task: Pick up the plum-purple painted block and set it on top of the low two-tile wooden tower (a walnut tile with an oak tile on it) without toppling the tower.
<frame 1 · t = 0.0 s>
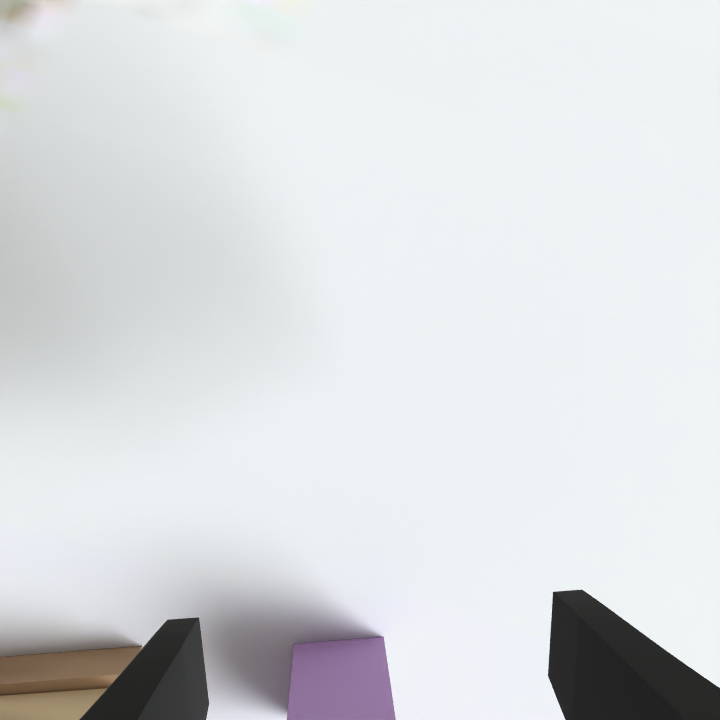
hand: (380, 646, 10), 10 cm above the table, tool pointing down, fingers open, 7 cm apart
walnut tile: (78, 707, 22), on the table, touching oak tile
purple block: (340, 677, 22), on the table
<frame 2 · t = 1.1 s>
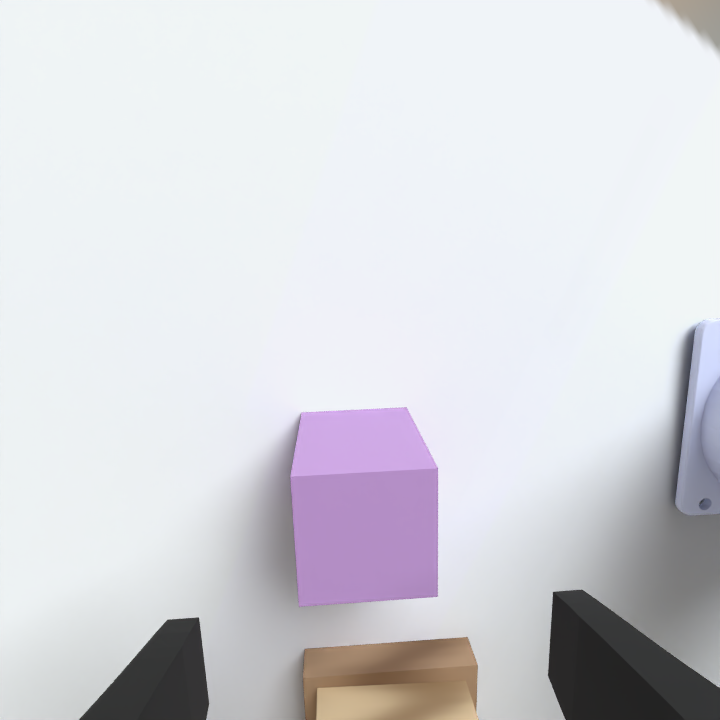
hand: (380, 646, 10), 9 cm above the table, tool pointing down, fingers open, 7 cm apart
walnut tile: (386, 699, 22), on the table
purple block: (356, 458, 19), on the table
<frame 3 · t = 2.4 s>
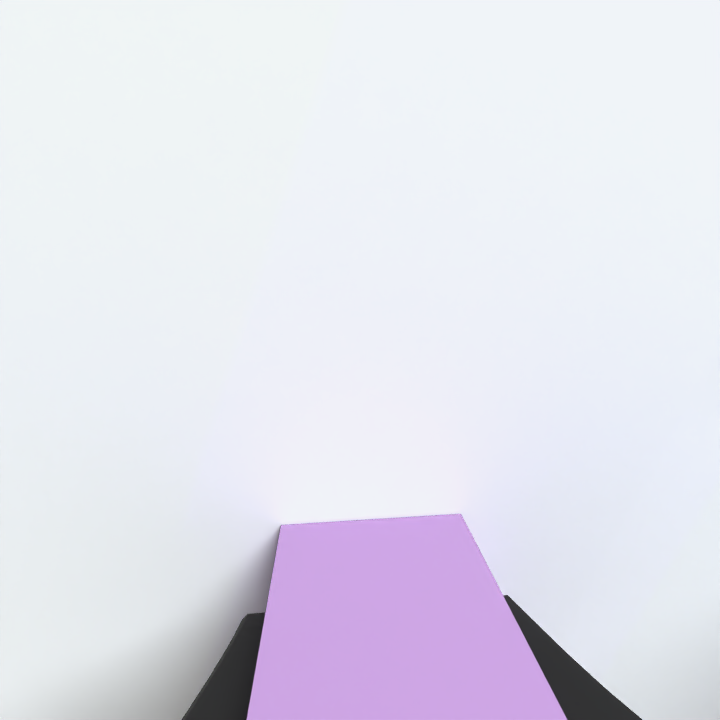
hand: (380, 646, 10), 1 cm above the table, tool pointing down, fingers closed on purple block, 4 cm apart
purple block: (374, 598, 11), on the table, touching gripper
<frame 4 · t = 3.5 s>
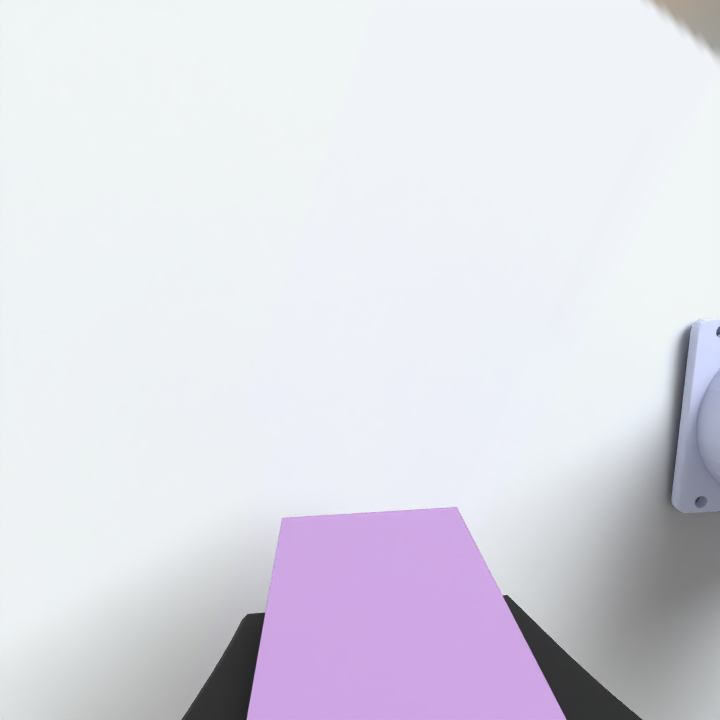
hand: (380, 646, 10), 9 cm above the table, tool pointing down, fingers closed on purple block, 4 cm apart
purple block: (372, 589, 11), point 8 cm above the table, touching gripper
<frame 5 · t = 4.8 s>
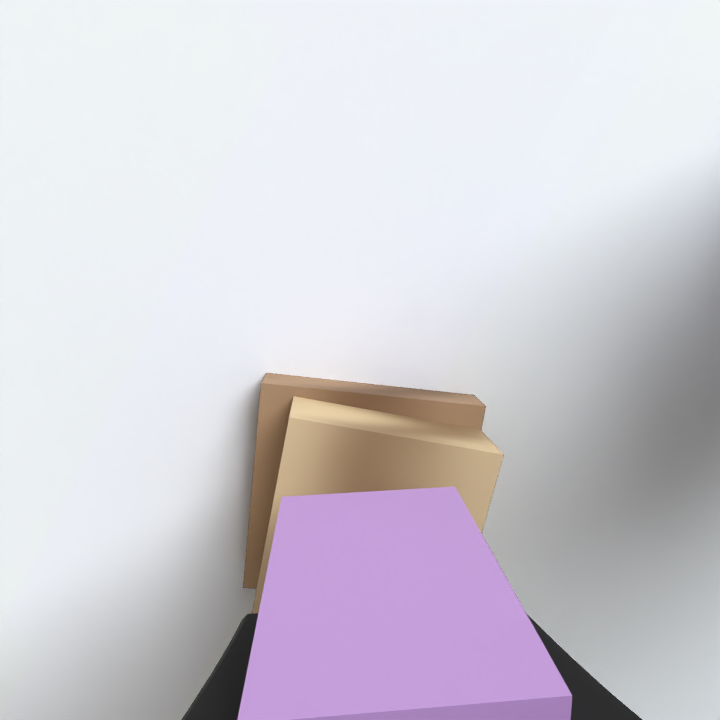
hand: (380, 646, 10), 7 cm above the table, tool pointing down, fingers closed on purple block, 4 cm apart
oak tile: (369, 500, 16), point 1 cm above the table, touching walnut tile
walnut tile: (357, 472, 17), on the table, touching oak tile
purple block: (371, 569, 11), point 5 cm above the table, touching gripper
when the fingers open (6 cm above the table, at t = 5.4 s): purple block drops 1 cm, resting on oak tile.
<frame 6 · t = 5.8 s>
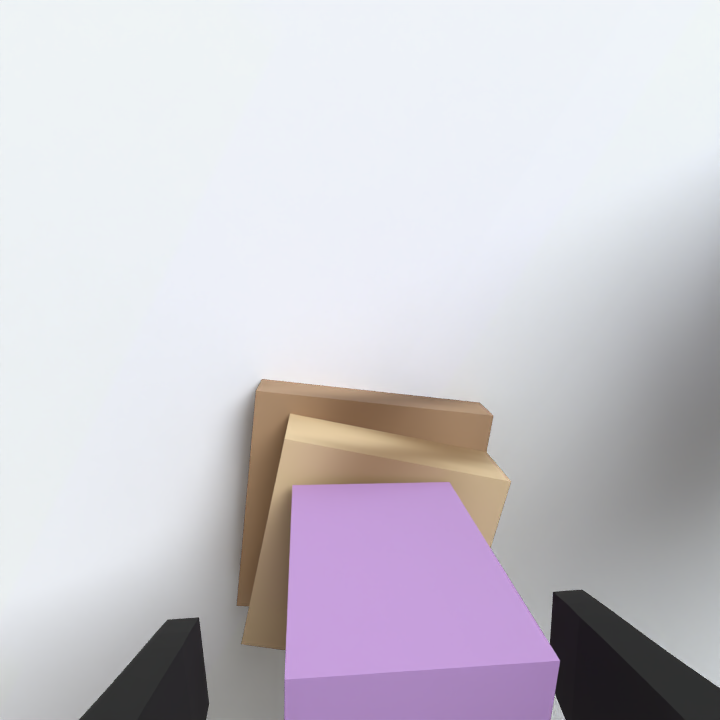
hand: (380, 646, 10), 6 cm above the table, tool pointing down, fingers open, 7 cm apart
oak tile: (367, 523, 15), point 1 cm above the table, touching purple block, walnut tile
walnut tile: (357, 483, 17), on the table, touching oak tile
purple block: (369, 553, 13), point 3 cm above the table, touching oak tile
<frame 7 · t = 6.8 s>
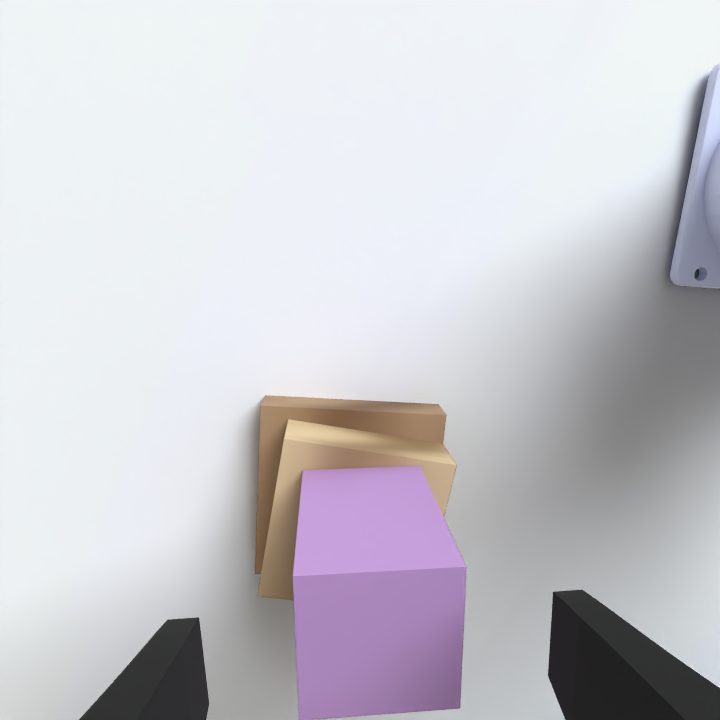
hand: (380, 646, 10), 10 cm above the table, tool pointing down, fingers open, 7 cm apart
oak tile: (352, 503, 19), point 1 cm above the table, touching purple block, walnut tile
walnut tile: (346, 473, 21), on the table, touching oak tile
purple block: (362, 521, 17), point 3 cm above the table, touching oak tile
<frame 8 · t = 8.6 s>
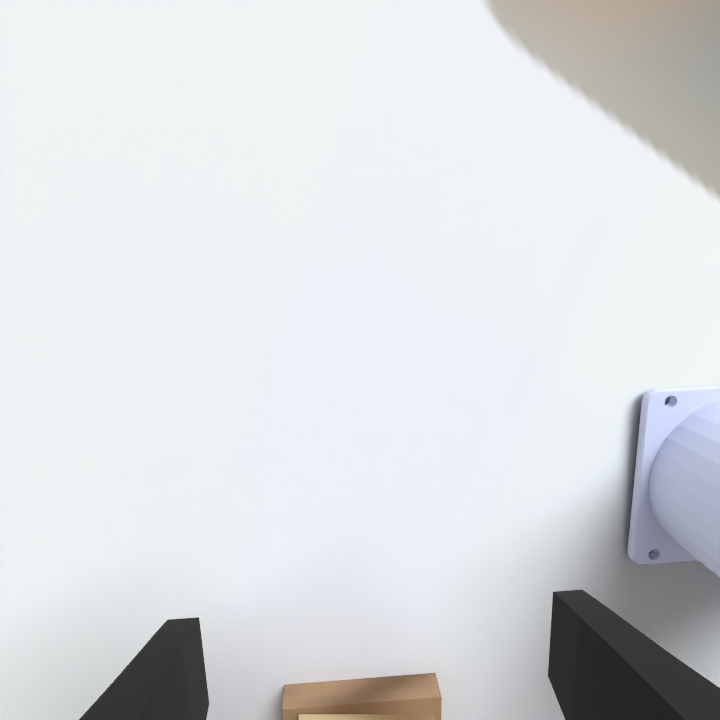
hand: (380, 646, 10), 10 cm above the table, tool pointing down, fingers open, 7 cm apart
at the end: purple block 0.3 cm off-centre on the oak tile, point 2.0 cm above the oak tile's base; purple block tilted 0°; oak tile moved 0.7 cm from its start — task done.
